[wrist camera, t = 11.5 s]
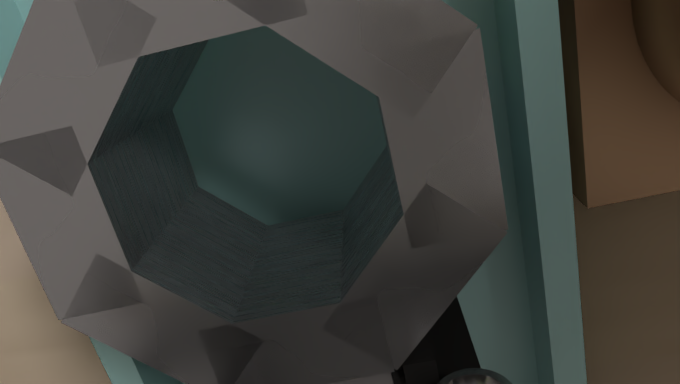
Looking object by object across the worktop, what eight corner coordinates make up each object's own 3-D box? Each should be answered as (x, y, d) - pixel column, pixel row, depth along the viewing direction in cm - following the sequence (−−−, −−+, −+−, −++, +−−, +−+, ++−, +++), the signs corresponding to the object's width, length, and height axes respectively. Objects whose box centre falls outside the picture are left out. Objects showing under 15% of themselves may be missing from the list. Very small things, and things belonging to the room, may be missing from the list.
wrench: (57, -6, 10) (-98, -8, 6) (415, -101, 9) (454, -158, 6) (252, 499, 14) (220, 660, 10) (508, 457, 13) (562, 616, 10)
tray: (-120, -253, 9) (-228, -305, 8) (480, -445, 8) (516, -557, 7) (208, 480, 16) (191, 544, 14) (565, 423, 15) (594, 484, 13)
